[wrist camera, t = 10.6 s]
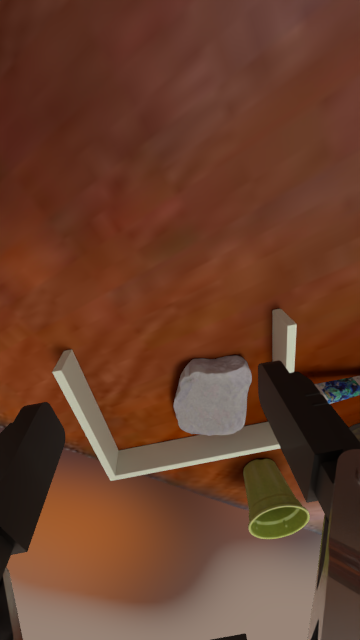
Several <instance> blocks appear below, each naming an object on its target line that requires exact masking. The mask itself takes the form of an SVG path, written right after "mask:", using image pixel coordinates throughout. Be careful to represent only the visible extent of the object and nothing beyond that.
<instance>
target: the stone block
mask: <svg viewBox="0 0 360 640" xmlns="http://www.w3.org/2000/svg"><path fill="white" fill-rule="evenodd" d="M251 381H252V375H251V371H250V369H249V367H248V364H247V361H246V360H245V359H244V358H243V357H240V356H237V355H234V356H226V357H221V358H217V359H204V358H201V359H192V360H191V361H190V362H189V363H188V364H187V365H186V367H185V368H184V370H183V372H182V374H181V375H180V379H179V385H178V389H177V391H176V397H175V399H174V404H173V407H174V410H175V413H176V417H177V419H178V425H179V427H180V428H181V429H182V430H183V431H185V432H188V433H191V434H202V435H208V436H211V435H229V434H234V433H235V432H237V431H238V430H239V431H240V430H241V429H242V428H243V426H244V424H245V417H246V408H247V393H248V389H249V386H250V384H251Z"/></svg>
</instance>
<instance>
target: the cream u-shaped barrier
mask: <svg viewBox="0 0 360 640" xmlns="http://www.w3.org/2000/svg"><path fill="white" fill-rule="evenodd" d="M296 327H297V324H296V323H295V322H294V321H293V320H292V319H291V318H290V317H289V316H288V315H287V314H286V313H285V312H284V311H283V310H282V309H275V310H272V361H277V360H280V361H281V362H282V363H283V364H284V366H285V367H286V369H287V370H288V372H289V373H292V372H294V365H295V346H296ZM53 374H54V376H55V378H56V380H57V382H58V384H59V386H60V387H61V389H62V391H63V393H64V395H65V397H66V399H67V400H68V402H69V404H70V406H71V408H72V410H73V412H74V414H75V415H76V417H77V419H78V421H79V423H80V425H81V427H82V429H83V430H84V432H85V434H86V436H87V438H88V440H89V442H90V444H91V445H92V447H93V449H94V451H95V453H96V455H97V457H98V459H99V460H100V462H101V464H102V466H103V468H104V470H105V472H106V473H107V475H108V477H109V479H110V481H113V480H118V479H124V478H129V477H134V476H139V475H144V474H149V473H155V472H160V471H165V470H170V469H175V468H180V467H186V466H191V465H196V464H201V463H206V462H212V461H217V460H222V459H227V458H232V457H237V456H243V455H248V454H253V453H258V452H263V451H269V450H274V449H279V448H281V447H280V445H279V443H278V441H277V439H276V437H275V435H274V432H273V430H272V428H271V426H270V424H269V422H264V423H259V424H254V425H249V426H243V428H242V429H241V430H240V431H239V430H238V431H237V432H235V433H234V434H229V435H211V436H208V435H197V436H192V437H187V438H181V439H176V440H171V441H166V442H161V443H156V444H150V445H145V446H140V447H135V448H130V449H125V450H118V448H117V446H116V444H115V442H114V439H113V437H112V435H111V433H110V431H109V429H108V426H107V424H106V422H105V420H104V418H103V416H102V413H101V411H100V409H99V407H98V405H97V403H96V400H95V398H94V396H93V394H92V392H91V390H90V387H89V385H88V383H87V381H86V379H85V377H84V374H83V372H82V370H81V368H80V366H79V364H78V361H77V359H76V357H75V355H74V353H73V351H72V349H71V350H66V351H64V352H63V354H62V355H61V357H60V359H59V361H58V363H57V364H56V366H55V368H54V370H53Z"/></svg>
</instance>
